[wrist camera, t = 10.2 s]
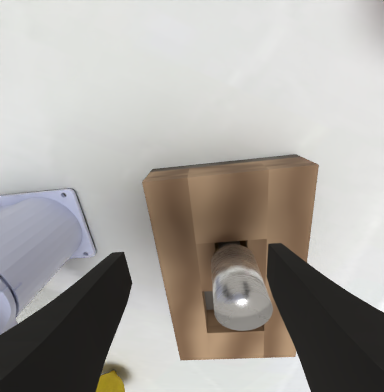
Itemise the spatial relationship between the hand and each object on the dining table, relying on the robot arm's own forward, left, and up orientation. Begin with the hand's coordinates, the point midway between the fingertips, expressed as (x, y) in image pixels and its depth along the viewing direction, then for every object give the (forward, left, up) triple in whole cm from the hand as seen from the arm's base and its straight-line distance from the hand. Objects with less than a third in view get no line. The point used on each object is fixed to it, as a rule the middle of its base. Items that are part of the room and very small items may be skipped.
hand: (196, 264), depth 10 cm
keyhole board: (+3, -8, -10) cm, 14 cm away
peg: (+2, -5, -9) cm, 11 cm away
